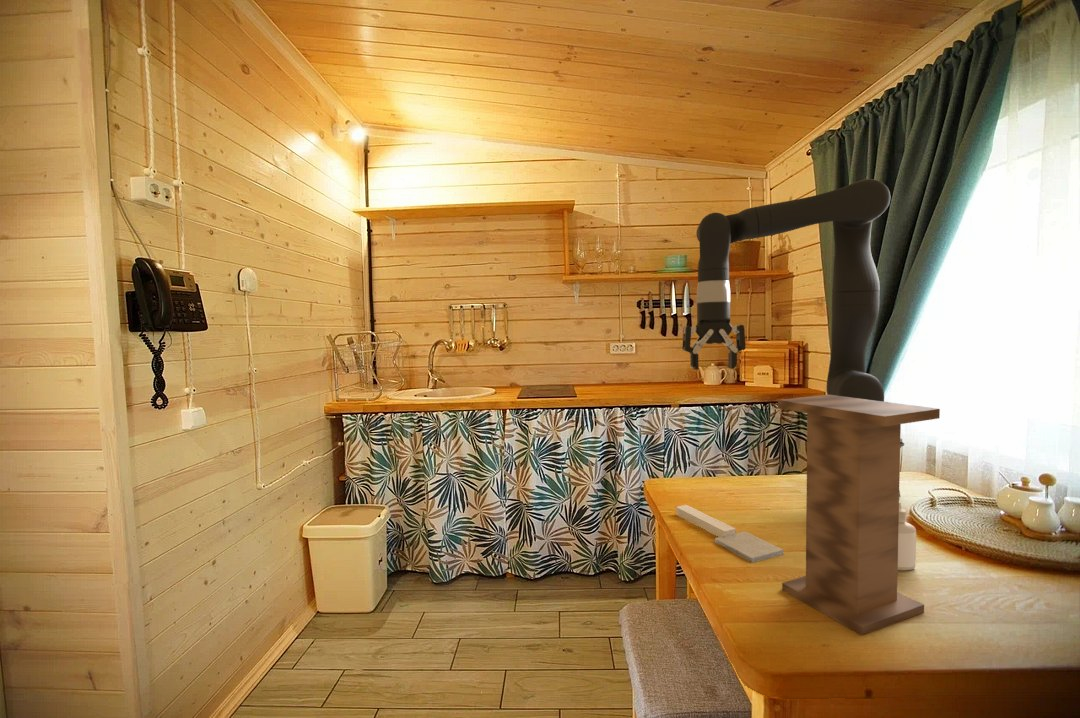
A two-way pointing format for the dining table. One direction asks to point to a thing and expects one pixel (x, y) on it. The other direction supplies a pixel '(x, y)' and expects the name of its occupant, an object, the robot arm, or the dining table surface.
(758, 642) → the dining table surface
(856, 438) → the shelf stand
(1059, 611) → the dining table surface
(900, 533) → the eye dropper bottle
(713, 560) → the dining table surface
